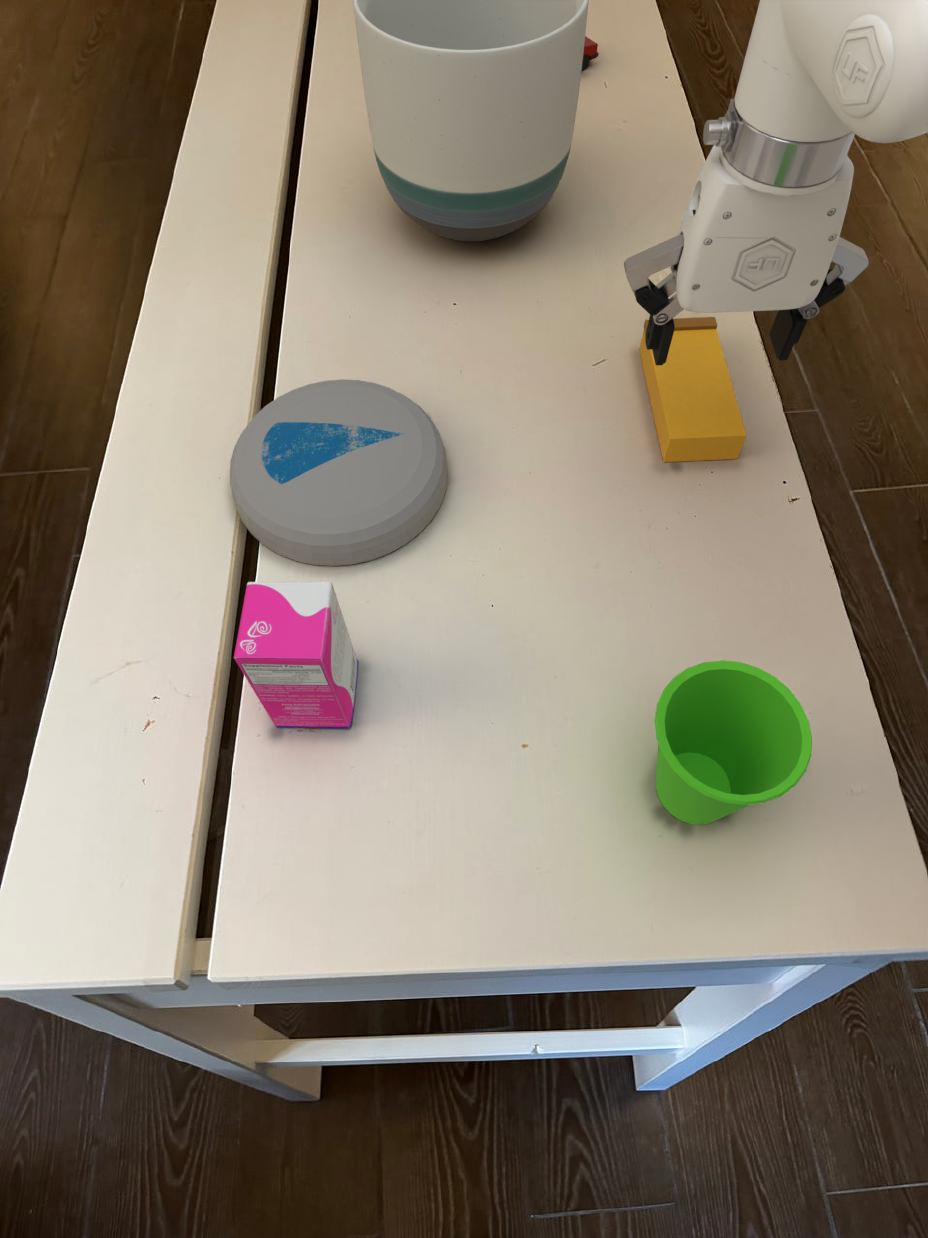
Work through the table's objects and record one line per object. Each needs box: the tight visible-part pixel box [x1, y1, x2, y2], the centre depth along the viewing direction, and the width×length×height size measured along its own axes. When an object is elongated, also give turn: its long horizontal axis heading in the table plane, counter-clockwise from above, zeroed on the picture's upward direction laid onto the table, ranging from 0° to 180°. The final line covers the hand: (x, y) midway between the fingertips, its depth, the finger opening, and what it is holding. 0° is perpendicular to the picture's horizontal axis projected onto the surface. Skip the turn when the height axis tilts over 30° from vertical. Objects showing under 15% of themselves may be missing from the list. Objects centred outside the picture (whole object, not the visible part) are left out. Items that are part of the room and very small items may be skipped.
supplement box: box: [233, 581, 359, 730], centre depth 58 cm, size 6×6×12 cm
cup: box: [654, 659, 813, 826], centre depth 54 cm, size 9×9×11 cm
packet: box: [639, 316, 747, 463], centre depth 75 cm, size 14×6×3 cm, turn 3°
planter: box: [352, 0, 590, 242], centre depth 82 cm, size 20×20×21 cm
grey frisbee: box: [229, 379, 449, 567], centre depth 71 cm, size 18×18×5 cm
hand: (717, 350), depth 67 cm, fingers open, 9 cm apart
